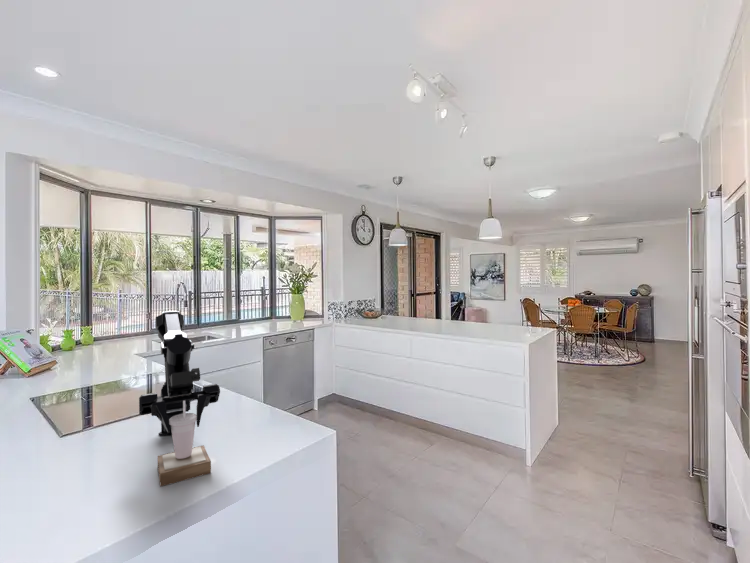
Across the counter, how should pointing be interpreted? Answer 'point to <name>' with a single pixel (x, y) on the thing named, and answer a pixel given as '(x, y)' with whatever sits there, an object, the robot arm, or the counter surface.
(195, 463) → the plinth
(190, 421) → the smoothie
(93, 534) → the counter surface
